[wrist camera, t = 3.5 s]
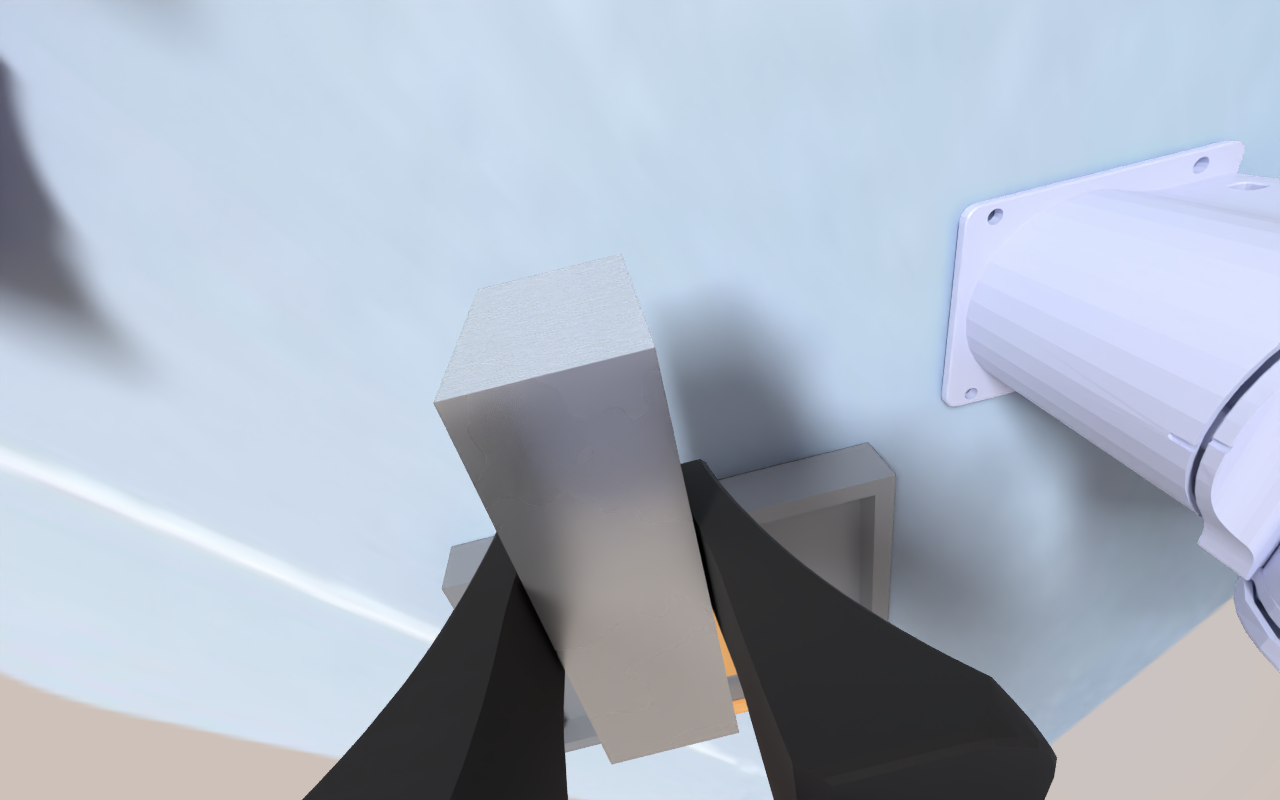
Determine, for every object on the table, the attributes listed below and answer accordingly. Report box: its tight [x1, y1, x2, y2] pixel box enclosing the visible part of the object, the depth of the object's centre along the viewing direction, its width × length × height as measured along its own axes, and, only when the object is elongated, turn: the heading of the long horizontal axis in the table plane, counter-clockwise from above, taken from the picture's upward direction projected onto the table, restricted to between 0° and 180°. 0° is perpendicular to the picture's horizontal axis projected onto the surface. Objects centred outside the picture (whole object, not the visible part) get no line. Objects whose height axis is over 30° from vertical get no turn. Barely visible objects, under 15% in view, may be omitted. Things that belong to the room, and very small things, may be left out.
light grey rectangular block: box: [433, 254, 739, 764], centre depth 12 cm, size 3×10×4 cm, turn 12°
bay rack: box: [442, 443, 896, 752], centre depth 25 cm, size 18×14×2 cm
